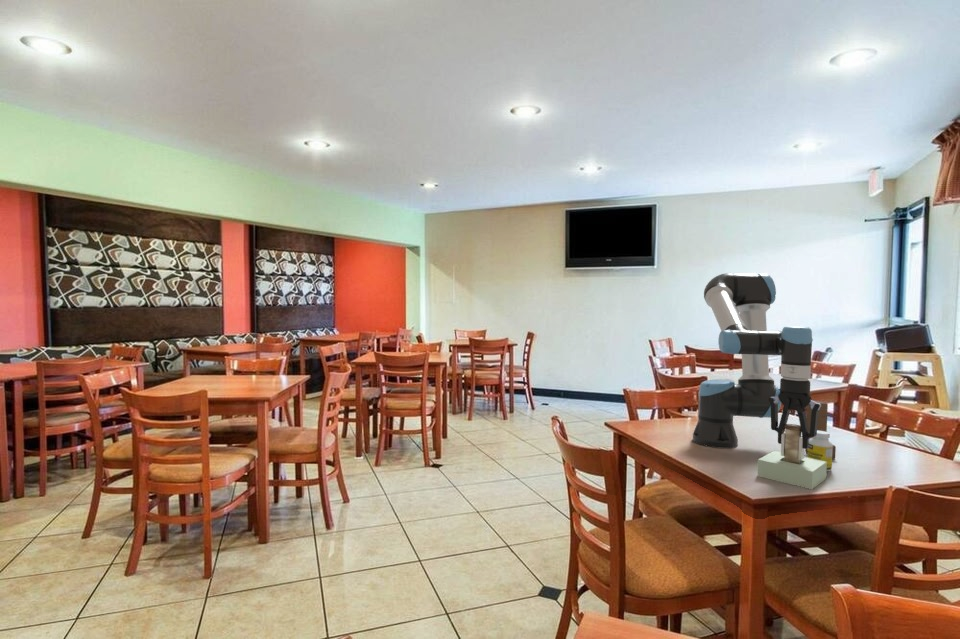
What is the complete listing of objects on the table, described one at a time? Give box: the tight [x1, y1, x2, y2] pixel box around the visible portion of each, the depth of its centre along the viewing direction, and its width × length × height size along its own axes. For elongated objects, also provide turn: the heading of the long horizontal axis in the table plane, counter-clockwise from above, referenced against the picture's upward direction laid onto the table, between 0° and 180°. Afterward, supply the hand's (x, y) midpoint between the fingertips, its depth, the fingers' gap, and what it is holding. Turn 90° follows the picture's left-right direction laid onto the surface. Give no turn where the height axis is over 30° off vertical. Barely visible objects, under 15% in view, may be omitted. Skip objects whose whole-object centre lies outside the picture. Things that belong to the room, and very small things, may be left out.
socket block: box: [757, 450, 827, 490], centre depth 148 cm, size 14×14×5 cm
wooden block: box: [804, 400, 837, 460], centre depth 170 cm, size 9×4×18 cm, turn 0°
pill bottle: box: [806, 430, 834, 472], centre depth 156 cm, size 6×6×12 cm
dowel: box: [784, 423, 802, 465], centre depth 147 cm, size 4×4×14 cm
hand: (792, 456), depth 147 cm, fingers closed on dowel, 4 cm apart
